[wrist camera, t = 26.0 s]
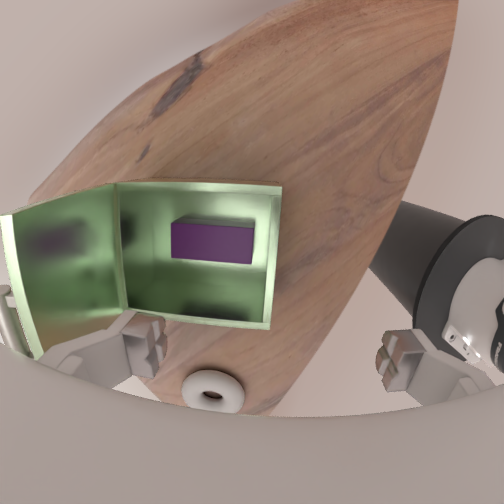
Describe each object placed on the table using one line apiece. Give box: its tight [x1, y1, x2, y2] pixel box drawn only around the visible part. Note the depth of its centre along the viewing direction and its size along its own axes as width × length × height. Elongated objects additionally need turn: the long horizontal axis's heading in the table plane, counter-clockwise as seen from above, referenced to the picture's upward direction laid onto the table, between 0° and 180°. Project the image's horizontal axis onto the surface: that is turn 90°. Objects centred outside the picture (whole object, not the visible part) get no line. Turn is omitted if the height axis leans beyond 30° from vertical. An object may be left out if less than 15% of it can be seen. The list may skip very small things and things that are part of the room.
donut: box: [181, 370, 245, 414], centre depth 39 cm, size 10×4×10 cm
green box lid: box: [0, 183, 124, 361], centre depth 17 cm, size 16×14×5 cm
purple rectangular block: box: [171, 218, 255, 265], centre depth 31 cm, size 9×4×3 cm, turn 86°
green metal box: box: [114, 178, 282, 330], centre depth 29 cm, size 16×14×9 cm
